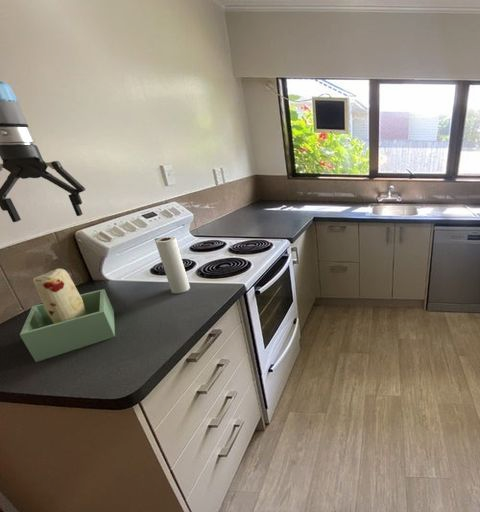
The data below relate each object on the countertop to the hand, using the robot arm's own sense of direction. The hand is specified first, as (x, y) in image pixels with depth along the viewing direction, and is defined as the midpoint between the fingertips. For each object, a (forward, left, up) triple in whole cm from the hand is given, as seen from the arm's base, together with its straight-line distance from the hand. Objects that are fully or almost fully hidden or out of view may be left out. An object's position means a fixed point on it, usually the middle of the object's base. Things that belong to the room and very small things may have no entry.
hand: (49, 218), depth 88 cm
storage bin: (+17, -2, -33) cm, 37 cm away
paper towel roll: (+5, +26, -33) cm, 42 cm away
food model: (+17, -2, -32) cm, 36 cm away
